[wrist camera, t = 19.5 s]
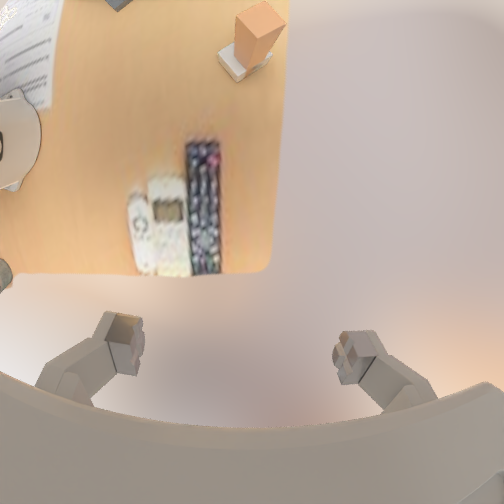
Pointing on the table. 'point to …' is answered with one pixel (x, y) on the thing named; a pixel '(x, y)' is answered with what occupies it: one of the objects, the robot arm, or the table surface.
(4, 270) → the spray paint can
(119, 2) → the stand
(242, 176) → the table surface
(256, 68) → the bar
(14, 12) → the fidget spinner
